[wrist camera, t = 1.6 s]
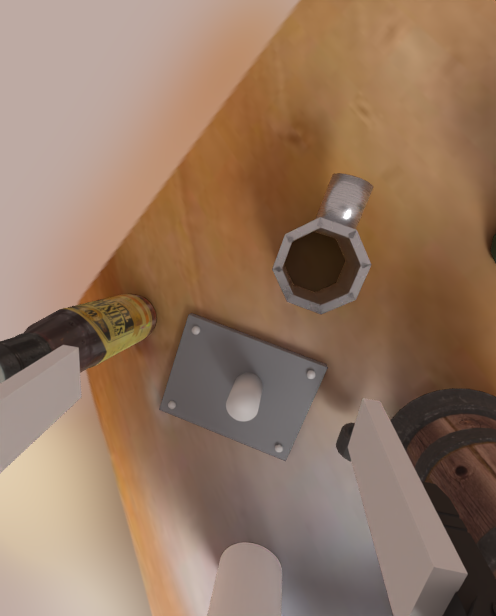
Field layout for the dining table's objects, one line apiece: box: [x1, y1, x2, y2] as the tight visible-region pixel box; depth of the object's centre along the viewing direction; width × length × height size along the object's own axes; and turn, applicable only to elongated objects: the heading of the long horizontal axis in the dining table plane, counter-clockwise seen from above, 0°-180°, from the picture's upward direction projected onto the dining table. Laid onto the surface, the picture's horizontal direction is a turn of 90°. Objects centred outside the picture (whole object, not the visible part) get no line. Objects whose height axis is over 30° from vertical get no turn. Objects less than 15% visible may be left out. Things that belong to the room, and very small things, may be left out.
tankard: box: [336, 388, 496, 578], centre depth 28 cm, size 24×17×20 cm
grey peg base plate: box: [159, 313, 328, 461], centre depth 36 cm, size 18×14×6 cm
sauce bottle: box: [0, 294, 157, 384], centre depth 30 cm, size 6×6×20 cm
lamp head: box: [272, 173, 373, 314], centre depth 30 cm, size 12×8×8 cm, turn 161°
